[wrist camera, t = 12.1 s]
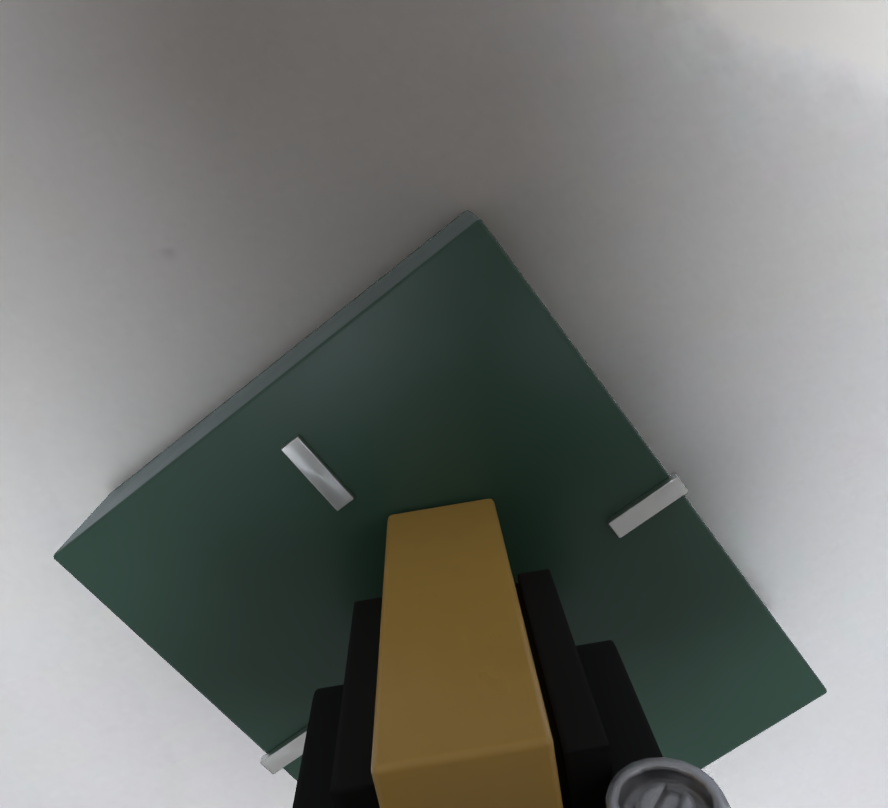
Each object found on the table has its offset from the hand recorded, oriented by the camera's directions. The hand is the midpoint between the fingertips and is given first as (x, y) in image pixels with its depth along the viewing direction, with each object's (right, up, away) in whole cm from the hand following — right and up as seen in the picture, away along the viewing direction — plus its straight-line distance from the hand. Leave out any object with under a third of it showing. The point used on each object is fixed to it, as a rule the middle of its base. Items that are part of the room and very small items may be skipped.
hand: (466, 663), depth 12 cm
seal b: (0, 0, +1) cm, 1 cm away
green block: (0, +1, +3) cm, 3 cm away
